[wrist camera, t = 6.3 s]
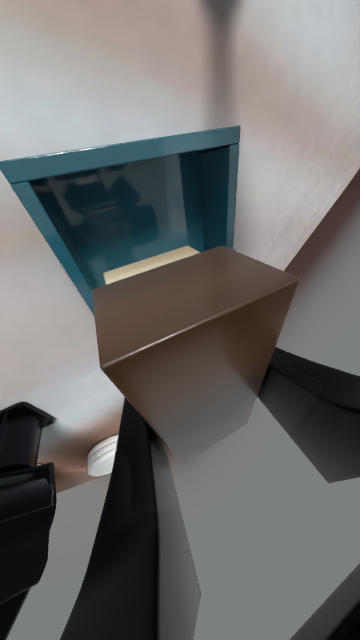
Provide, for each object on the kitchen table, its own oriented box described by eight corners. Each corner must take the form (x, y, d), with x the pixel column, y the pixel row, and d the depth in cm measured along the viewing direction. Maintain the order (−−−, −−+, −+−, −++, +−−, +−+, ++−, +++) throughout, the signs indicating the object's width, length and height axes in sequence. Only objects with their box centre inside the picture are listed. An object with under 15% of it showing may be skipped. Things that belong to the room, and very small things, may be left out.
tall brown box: (205, 362, 14) (247, 423, 10) (154, 388, 13) (182, 465, 9) (194, 232, 7) (303, 277, 4) (88, 265, 6) (98, 369, 3)
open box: (209, 295, 24) (229, 312, 21) (116, 333, 21) (123, 360, 18) (203, 139, 14) (241, 124, 11) (20, 169, 11) (-6, 161, 8)
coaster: (127, 426, 36) (130, 444, 33) (140, 439, 42) (144, 455, 40) (77, 452, 33) (77, 474, 31) (99, 462, 40) (101, 480, 37)
